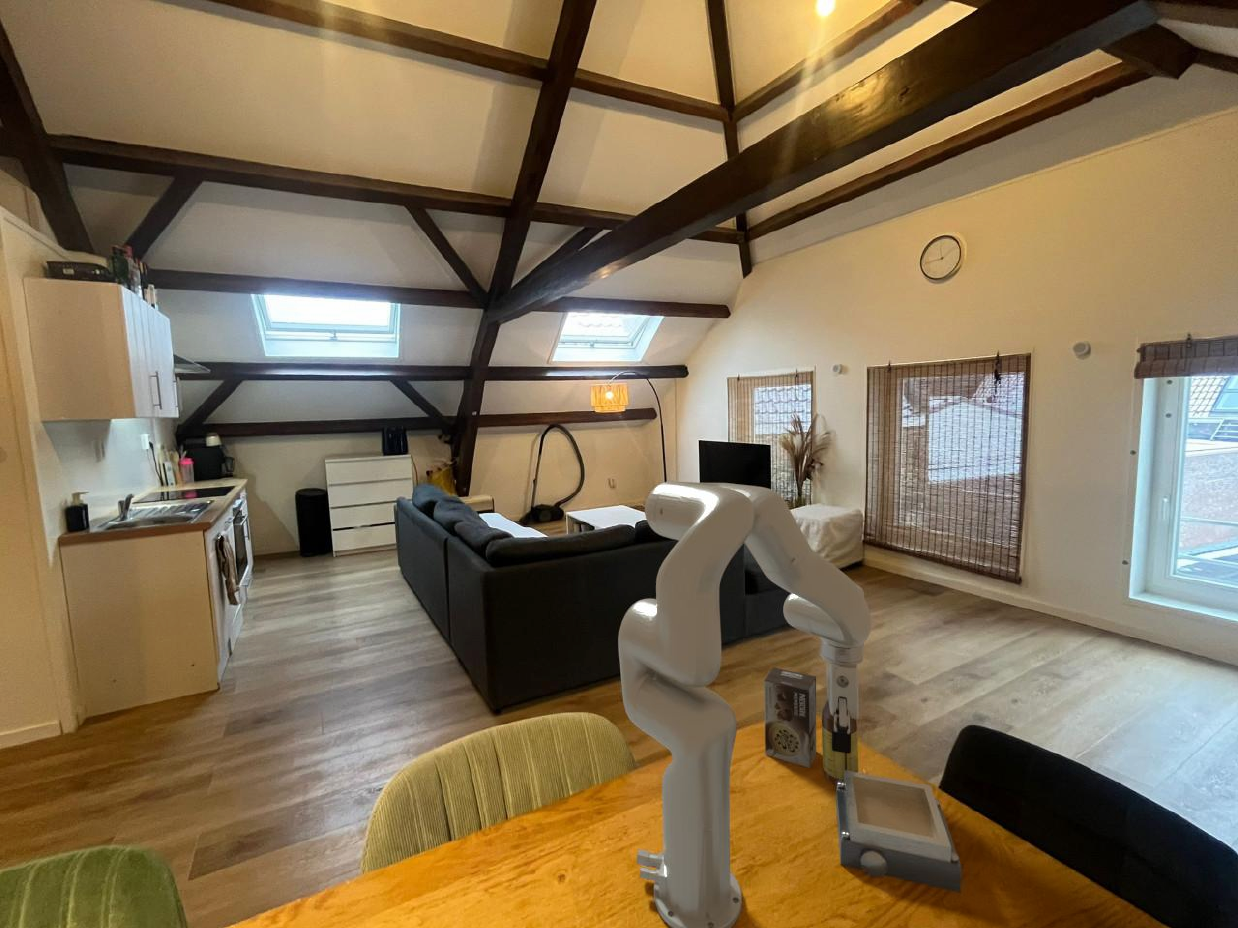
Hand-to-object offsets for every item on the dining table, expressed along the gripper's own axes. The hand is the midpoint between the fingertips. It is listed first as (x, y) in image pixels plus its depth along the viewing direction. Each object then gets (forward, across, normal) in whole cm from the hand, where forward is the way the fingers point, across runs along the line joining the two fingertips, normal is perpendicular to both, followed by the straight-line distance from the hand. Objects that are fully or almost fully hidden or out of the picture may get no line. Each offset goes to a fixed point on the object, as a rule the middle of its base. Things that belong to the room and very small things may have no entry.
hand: (840, 739), depth 101 cm
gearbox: (+8, -14, -7) cm, 17 cm away
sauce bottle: (+8, 0, 0) cm, 8 cm away
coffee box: (+8, +5, +9) cm, 13 cm away
